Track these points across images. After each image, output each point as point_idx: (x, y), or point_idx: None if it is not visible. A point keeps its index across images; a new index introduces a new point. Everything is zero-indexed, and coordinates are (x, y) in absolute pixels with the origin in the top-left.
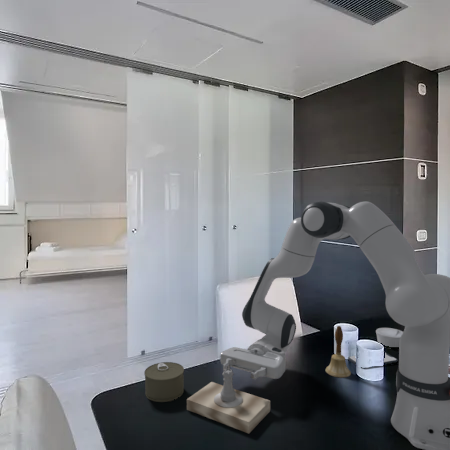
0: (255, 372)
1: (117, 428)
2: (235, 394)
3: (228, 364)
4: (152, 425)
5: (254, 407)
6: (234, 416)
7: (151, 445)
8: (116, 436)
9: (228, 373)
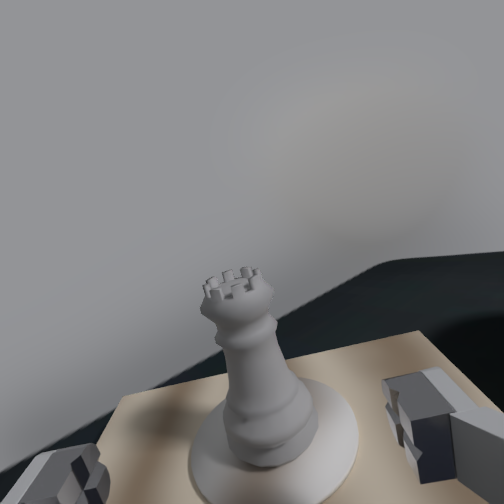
0: (37, 463)
1: (435, 266)
2: (225, 426)
3: (400, 393)
4: (398, 299)
5: (112, 479)
6: (184, 384)
7: (329, 290)
8: (404, 265)
9: (221, 284)
